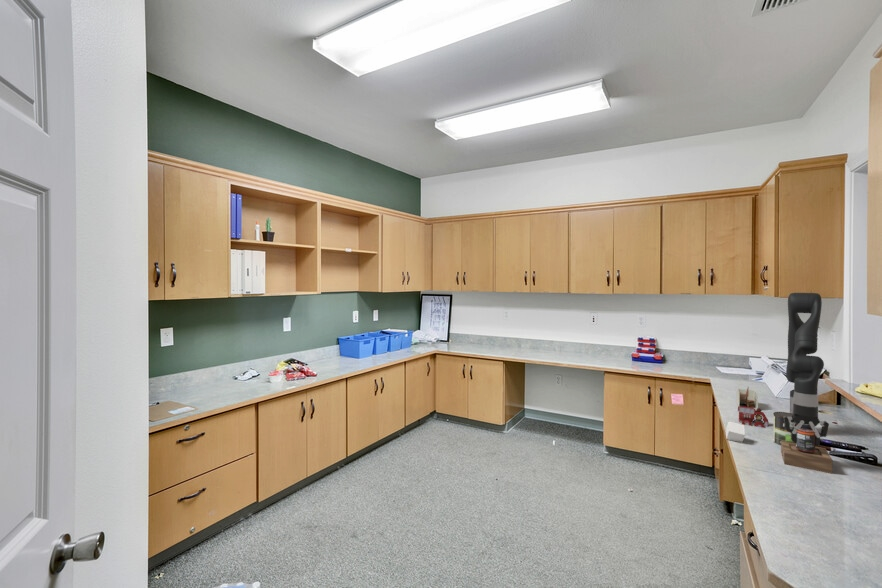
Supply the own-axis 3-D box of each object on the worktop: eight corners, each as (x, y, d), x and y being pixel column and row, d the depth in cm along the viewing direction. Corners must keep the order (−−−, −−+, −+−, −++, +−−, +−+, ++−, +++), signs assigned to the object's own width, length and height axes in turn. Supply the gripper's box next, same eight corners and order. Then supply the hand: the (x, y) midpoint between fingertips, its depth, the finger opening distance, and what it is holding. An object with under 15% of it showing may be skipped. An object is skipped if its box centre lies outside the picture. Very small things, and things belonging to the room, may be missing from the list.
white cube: (741, 433, 186) (744, 425, 183) (741, 443, 182) (745, 435, 179) (725, 429, 189) (728, 421, 186) (726, 439, 185) (728, 431, 182)
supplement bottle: (805, 447, 165) (805, 420, 164) (819, 453, 159) (819, 425, 158) (791, 447, 164) (791, 420, 164) (805, 453, 158) (805, 425, 158)
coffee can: (807, 451, 173) (808, 419, 173) (779, 448, 176) (779, 417, 176) (796, 443, 183) (796, 412, 182) (768, 440, 186) (769, 410, 186)
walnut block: (780, 453, 171) (781, 440, 171) (825, 462, 163) (825, 448, 163) (784, 465, 160) (784, 451, 160) (832, 474, 152) (832, 459, 152)
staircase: (738, 414, 227) (738, 385, 227) (736, 409, 237) (736, 381, 237) (757, 416, 223) (758, 387, 223) (754, 411, 232) (755, 383, 232)
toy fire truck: (769, 432, 197) (769, 411, 197) (738, 427, 204) (738, 407, 204) (767, 428, 203) (767, 408, 203) (737, 423, 210) (737, 404, 210)
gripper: (826, 404, 161) (826, 444, 161) (780, 398, 168) (780, 437, 168) (832, 408, 154) (832, 451, 155) (784, 403, 162) (784, 443, 162)
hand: (805, 443), depth 162 cm, fingers closed on supplement bottle, 6 cm apart
